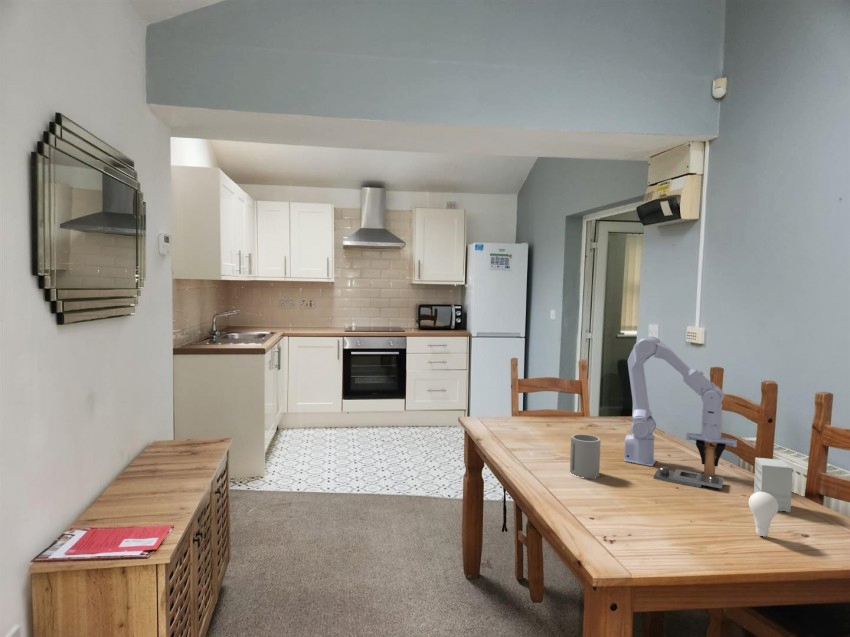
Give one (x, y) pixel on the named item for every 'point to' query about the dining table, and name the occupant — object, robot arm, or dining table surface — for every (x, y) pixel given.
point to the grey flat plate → (688, 478)
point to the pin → (709, 460)
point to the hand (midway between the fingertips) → (709, 464)
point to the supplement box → (774, 481)
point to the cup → (585, 455)
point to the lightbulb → (763, 511)
